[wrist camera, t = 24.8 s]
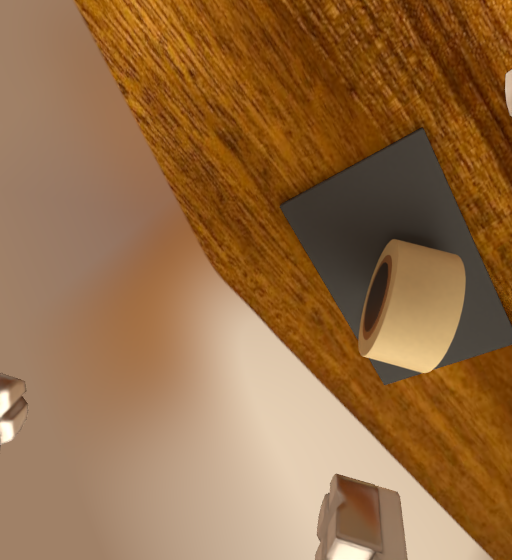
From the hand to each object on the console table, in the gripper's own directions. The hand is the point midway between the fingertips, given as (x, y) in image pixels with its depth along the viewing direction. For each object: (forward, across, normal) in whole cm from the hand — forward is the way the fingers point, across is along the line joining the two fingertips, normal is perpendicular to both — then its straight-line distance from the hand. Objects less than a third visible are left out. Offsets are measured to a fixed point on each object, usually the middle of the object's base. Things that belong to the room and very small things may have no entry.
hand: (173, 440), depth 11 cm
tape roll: (+26, -10, +5) cm, 29 cm away
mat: (+27, -10, +5) cm, 30 cm away
